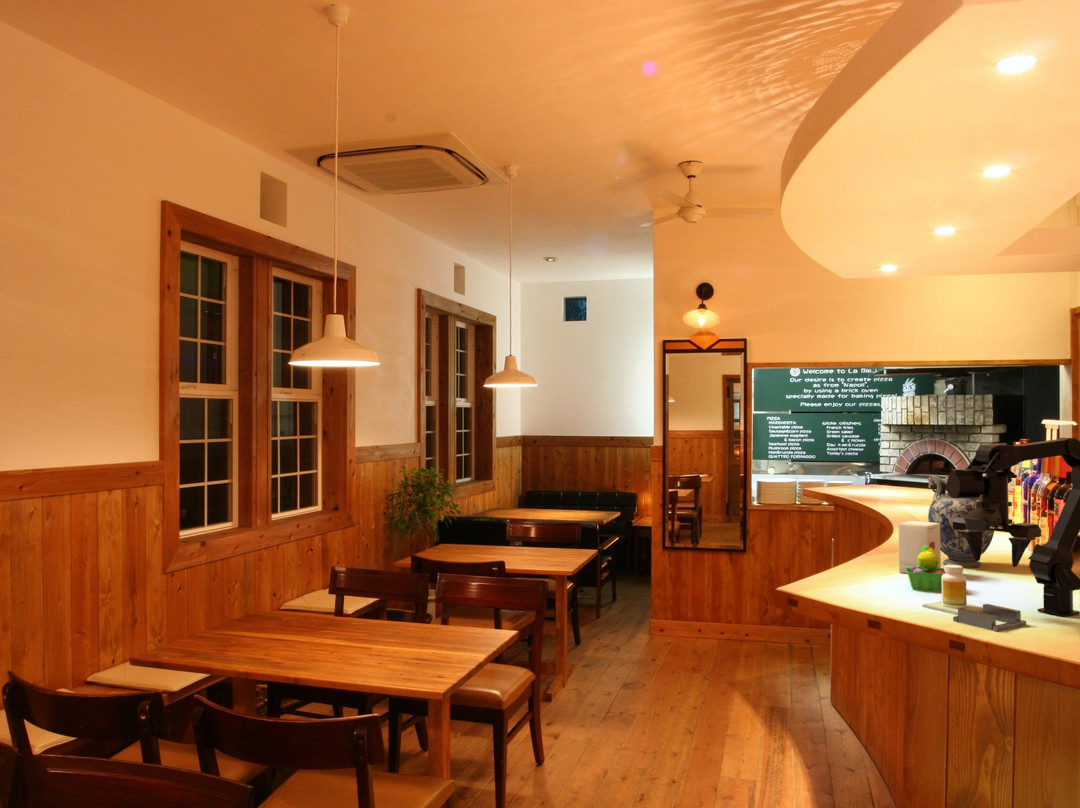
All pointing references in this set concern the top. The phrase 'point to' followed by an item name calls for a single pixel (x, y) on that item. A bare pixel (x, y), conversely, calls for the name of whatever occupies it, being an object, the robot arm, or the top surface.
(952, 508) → the decorative vase
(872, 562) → the top surface
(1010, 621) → the grey low square frame
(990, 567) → the top surface
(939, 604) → the pad
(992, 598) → the top surface
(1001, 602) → the top surface
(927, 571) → the fruit basket
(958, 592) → the supplement bottle
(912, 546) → the supplement box
